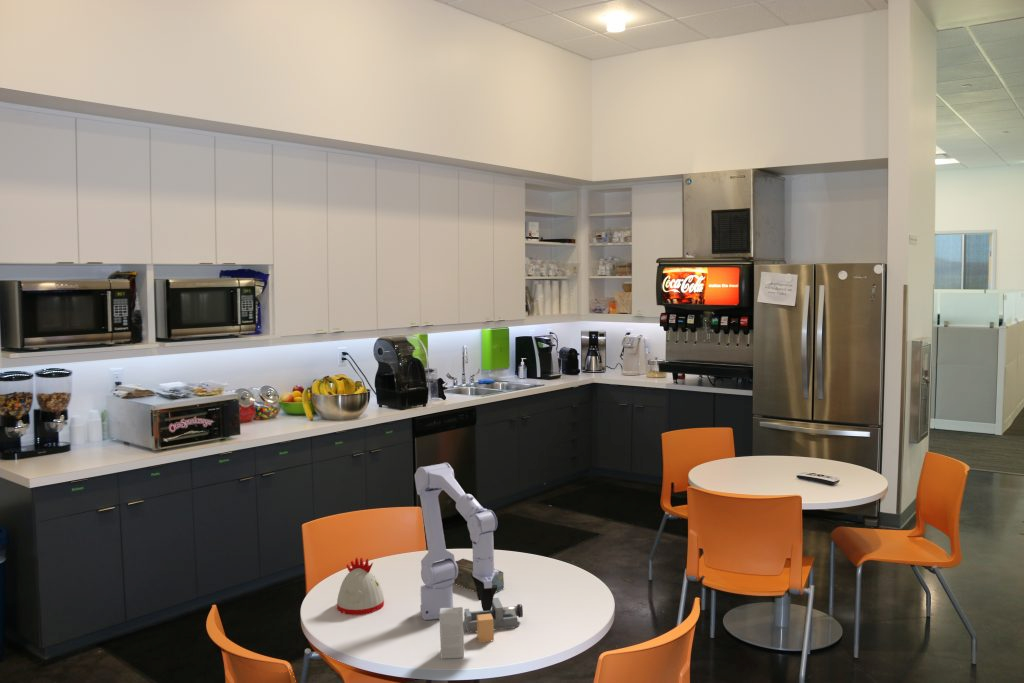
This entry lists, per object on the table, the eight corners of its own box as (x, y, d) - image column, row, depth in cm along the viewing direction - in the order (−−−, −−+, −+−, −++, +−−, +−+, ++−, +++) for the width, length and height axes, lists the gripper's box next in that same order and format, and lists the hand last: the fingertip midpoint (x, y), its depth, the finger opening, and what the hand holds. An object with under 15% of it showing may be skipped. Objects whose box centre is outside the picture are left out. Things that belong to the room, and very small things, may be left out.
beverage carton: (486, 597, 260) (486, 576, 260) (445, 582, 274) (444, 562, 273) (504, 589, 266) (504, 569, 265) (463, 576, 279) (463, 556, 279)
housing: (468, 632, 234) (467, 611, 234) (464, 620, 242) (463, 600, 241) (517, 627, 237) (517, 606, 236) (512, 616, 245) (511, 595, 244)
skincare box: (464, 650, 222) (463, 606, 222) (464, 658, 218) (462, 613, 217) (441, 651, 222) (439, 607, 221) (440, 659, 218) (439, 614, 217)
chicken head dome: (374, 616, 247) (372, 566, 246) (330, 613, 250) (328, 564, 248) (390, 598, 260) (388, 551, 259) (348, 596, 263) (346, 549, 262)
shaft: (498, 621, 238) (498, 609, 238) (496, 616, 241) (496, 604, 241) (522, 619, 239) (522, 606, 239) (520, 614, 243) (520, 602, 242)
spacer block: (479, 642, 228) (478, 620, 227) (477, 636, 232) (476, 614, 231) (493, 640, 228) (493, 619, 228) (491, 634, 232) (490, 613, 232)
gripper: (502, 563, 222) (503, 613, 223) (493, 546, 236) (494, 593, 237) (476, 565, 221) (477, 616, 222) (468, 548, 235) (469, 596, 236)
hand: (484, 604), depth 229 cm, fingers open, 7 cm apart
